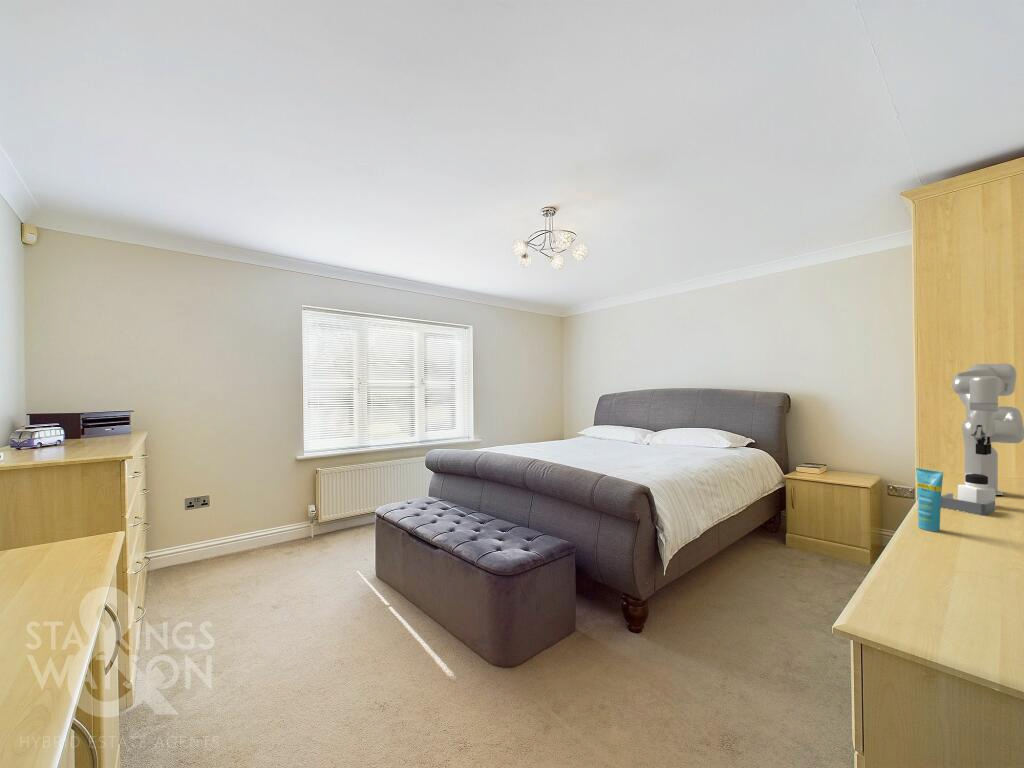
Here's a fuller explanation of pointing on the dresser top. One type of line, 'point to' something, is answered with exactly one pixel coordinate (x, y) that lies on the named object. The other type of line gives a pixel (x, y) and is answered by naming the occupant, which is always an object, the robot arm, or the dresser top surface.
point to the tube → (929, 499)
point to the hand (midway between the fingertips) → (983, 453)
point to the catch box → (967, 505)
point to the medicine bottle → (976, 489)
